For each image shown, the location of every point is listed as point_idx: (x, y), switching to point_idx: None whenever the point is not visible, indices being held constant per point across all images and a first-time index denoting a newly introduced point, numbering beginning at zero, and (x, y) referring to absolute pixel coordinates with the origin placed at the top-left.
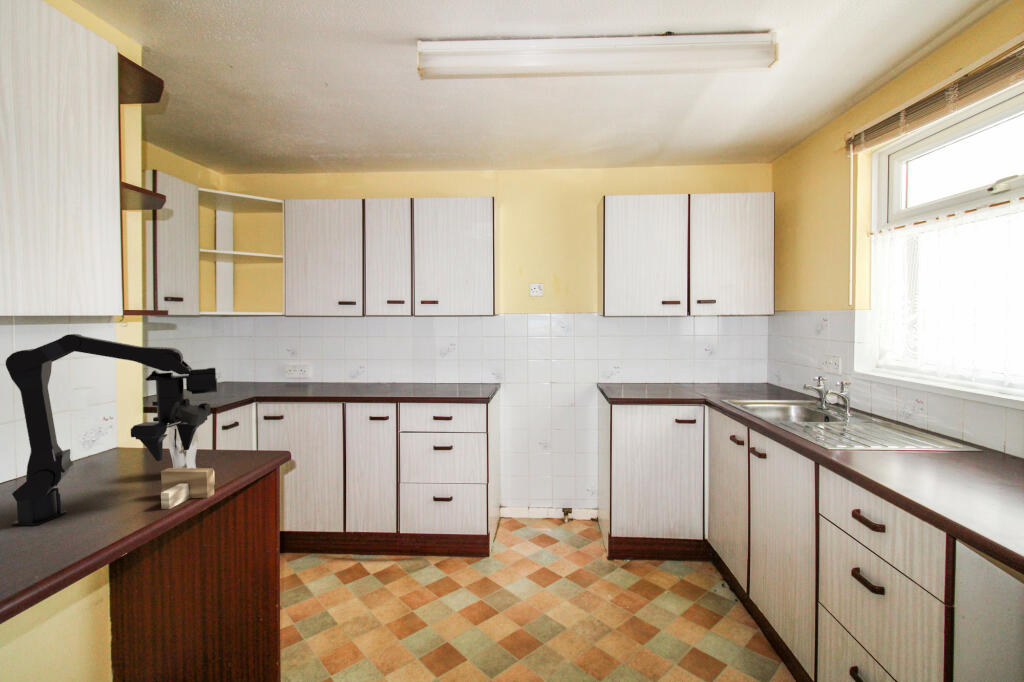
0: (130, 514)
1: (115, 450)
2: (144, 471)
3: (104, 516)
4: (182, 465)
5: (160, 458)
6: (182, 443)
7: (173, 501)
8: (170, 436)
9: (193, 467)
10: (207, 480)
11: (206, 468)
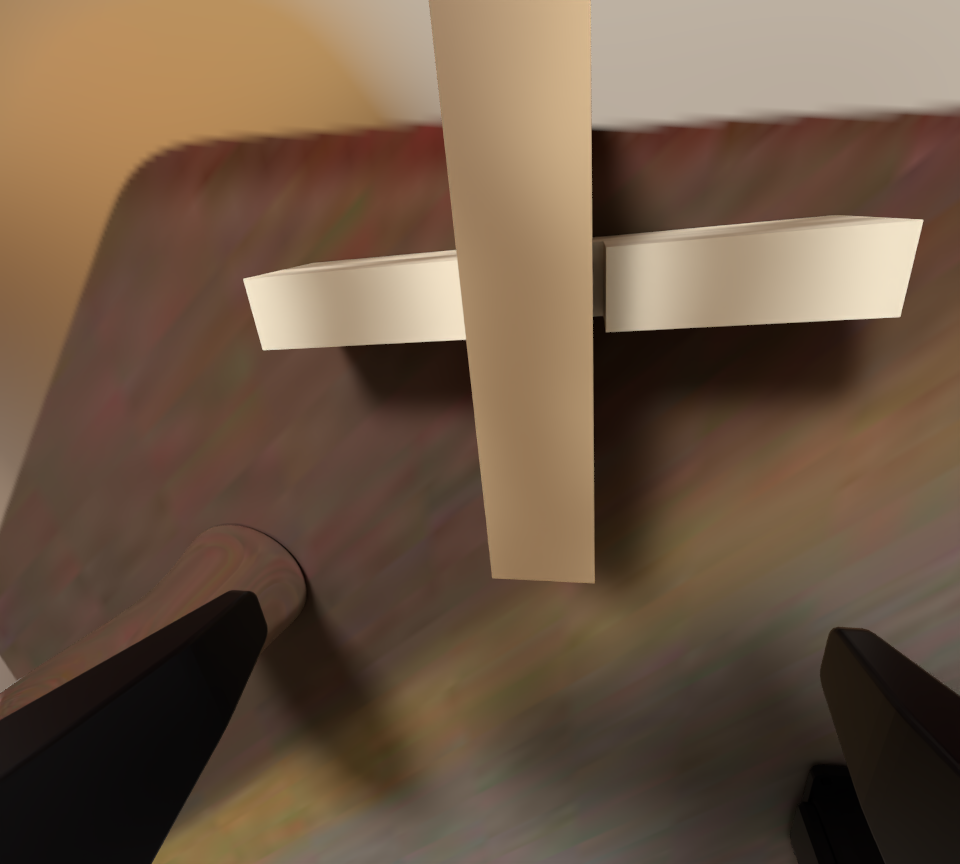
0: (900, 442)
1: None
2: (274, 763)
3: (902, 574)
4: None
5: (901, 660)
6: (209, 744)
7: (802, 222)
8: None
9: (198, 561)
10: None
11: (449, 87)
